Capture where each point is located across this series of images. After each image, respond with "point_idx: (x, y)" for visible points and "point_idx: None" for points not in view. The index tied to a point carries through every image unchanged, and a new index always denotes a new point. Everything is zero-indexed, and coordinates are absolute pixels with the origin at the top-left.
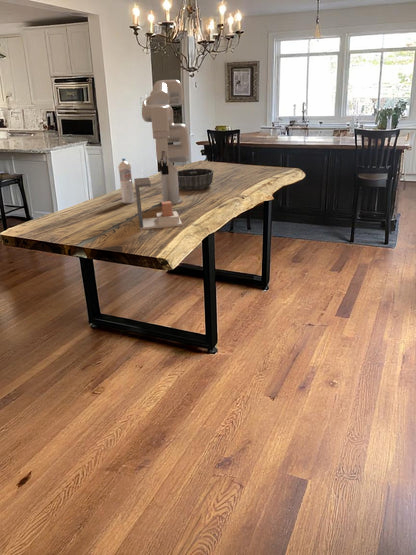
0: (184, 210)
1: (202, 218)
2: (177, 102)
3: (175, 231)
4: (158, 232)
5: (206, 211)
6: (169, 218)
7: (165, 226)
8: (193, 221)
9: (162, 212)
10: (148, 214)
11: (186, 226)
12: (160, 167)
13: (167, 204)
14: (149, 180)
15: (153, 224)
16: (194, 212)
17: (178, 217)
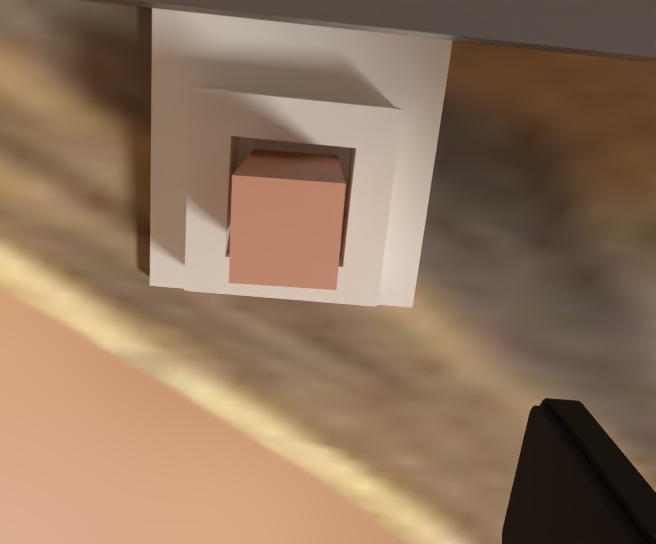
0: (591, 387)
1: (293, 457)
2: None
3: (10, 196)
4: (21, 49)
5: (468, 523)
6: (189, 200)
7: (153, 141)
8: (240, 382)
9: (322, 164)
10: (650, 64)
11: (122, 306)
12: (570, 467)
13: (231, 232)
14: (283, 12)
15: (216, 38)
16: (488, 442)
17: (187, 283)
